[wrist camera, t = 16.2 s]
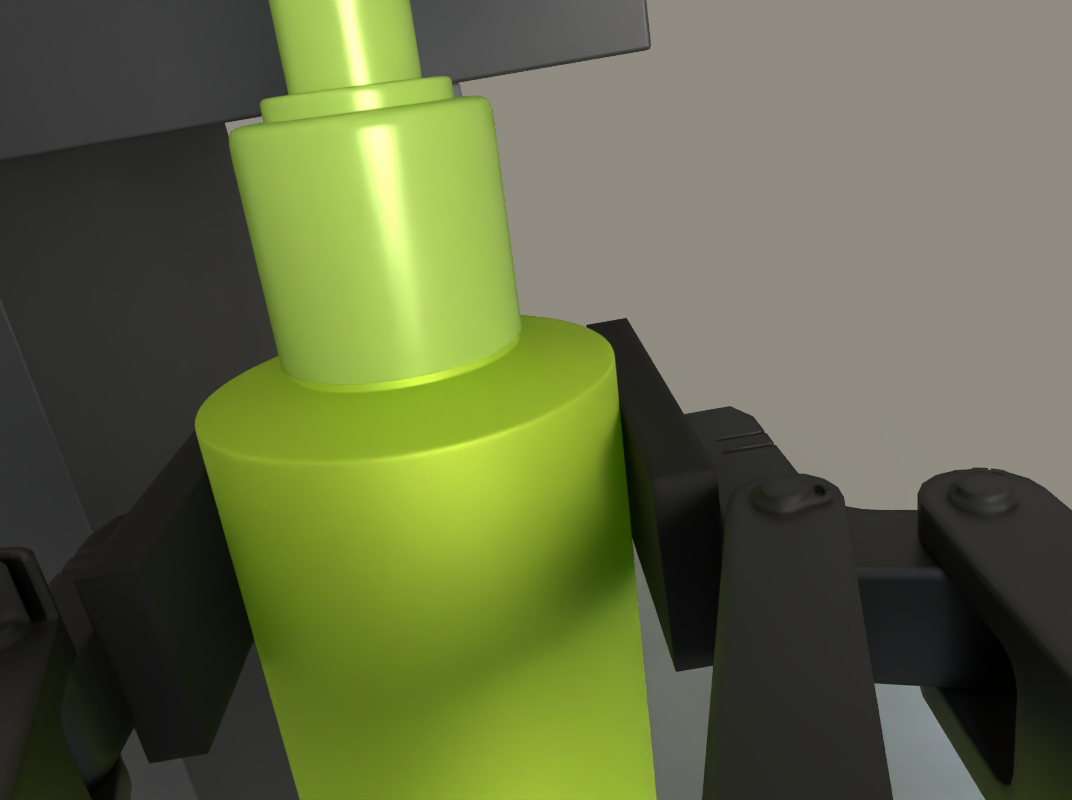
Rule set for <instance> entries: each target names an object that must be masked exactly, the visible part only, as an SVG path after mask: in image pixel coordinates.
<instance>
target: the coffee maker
mask: <svg viewBox="0 0 1072 800" xmlns="http://www.w3.org/2000/svg"><path fill="white" fill-rule="evenodd" d="M410 5H411V11H412V18H413V24H414V30H415V37H416V43H417V49H418V56H419V62H420V68H421V75H422V78H425V77H435V76H448V77H450V78H451V81H452V87H453V93H454V97H462V93H461V88H460V85H459V83H458V82H464V81H470V80H476V79H481V78H488V77H493V76H499V75H505V74H511V73H517V72H523V71H528V70H534V69H540V68H546V67H552V66H557V65H563V64H569V63H575V62H581V61H586V60H592V59H598V58H604V57H609V56H616V55H621V54H627V53H633V52H639V51H645V50H648V49H650V46H651V41H650V32H649V22H648V13H647V3H646V0H410ZM285 95H288V91H287V86H286V81H285V76H284V72H283V67H282V62H281V57H280V53H279V48H278V43H277V38H276V34H275V29H274V24H273V19H272V15H271V10H270V5H269V0H0V548H5V547H25V548H27V549H30V550H32V551H33V552H34V554H35V557H36V559H37V561H38V564H39V566H40V568H41V570H42V573H43V575H44V577H45V580H46V582H47V584H49V583H50V582H51V581H52V580H53V578H54V577H55V576H56V575H57V574H58V573H62V570H61V569H62V568H63V567H64V566H65V564H66V563H67V562H68V561H69V560H70V558H71V557H75V553H76V551H77V550H78V549H79V548H80V547H81V545H82V544H83V543H84V542H85V541H86V540H87V538H88V537H89V536H90V535H91V534H92V533H94V532H95V531H97V530H98V529H100V528H101V527H102V526H104V525H105V524H107V523H108V522H110V521H111V520H112V519H114V518H115V517H117V516H120V515H125V514H127V513H128V512H129V511H130V510H131V508H132V507H133V506H134V505H135V503H136V502H137V501H138V500H139V498H140V497H141V496H142V495H143V493H144V492H145V491H146V490H147V489H148V487H149V486H150V485H151V484H152V482H153V481H154V480H155V479H156V477H157V476H158V475H159V474H160V472H161V471H162V470H163V469H164V467H165V466H166V465H167V464H168V462H169V461H170V460H171V459H172V457H173V456H174V455H175V454H176V452H177V451H178V450H179V449H180V448H181V446H182V445H183V444H184V443H185V441H186V440H187V439H188V438H189V436H190V435H191V434H192V433H193V431H194V430H195V419H196V415H197V413H198V411H199V409H200V407H201V406H202V404H203V403H204V402H205V401H206V400H207V399H208V398H209V397H210V396H211V395H212V394H213V393H214V392H215V391H216V390H218V389H219V388H220V387H222V386H223V385H224V384H226V383H227V382H229V381H230V380H232V379H233V378H235V377H237V376H239V375H240V374H242V373H244V372H246V371H248V370H250V369H252V368H253V367H256V366H258V365H260V364H262V363H264V362H266V361H268V360H270V359H273V358H275V357H277V356H278V352H277V347H276V343H275V339H274V335H273V331H272V326H271V322H270V318H269V314H268V310H267V305H266V301H265V297H264V293H263V289H262V284H261V280H260V276H259V272H258V268H257V263H256V259H255V255H254V251H253V247H252V242H251V238H250V234H249V230H248V226H247V221H246V217H245V213H244V209H243V205H242V200H241V196H240V192H239V188H238V184H237V179H236V175H235V171H234V167H233V163H232V158H231V153H230V148H229V138H228V133H227V129H226V126H225V123H226V122H232V121H237V120H243V119H249V118H255V117H261V116H262V114H261V109H260V102H261V101H262V100H264V99H267V98H272V97H279V96H285ZM120 754H121V756H122V758H123V761H124V763H125V765H126V768H127V770H128V772H129V775H130V780H131V784H132V789H131V799H130V800H300V799H299V796H298V792H297V789H296V785H295V782H294V778H293V775H292V771H291V767H290V764H289V760H288V757H287V753H286V750H285V746H284V743H283V739H282V736H281V732H280V729H279V725H278V721H277V718H276V714H275V711H274V707H273V704H272V700H271V697H270V693H269V690H268V686H267V682H266V679H265V675H264V672H263V668H262V665H261V661H260V658H259V654H258V651H257V647H256V644H255V640H254V641H253V644H252V646H251V649H250V651H249V654H248V656H247V659H246V661H245V664H244V666H243V669H242V671H241V673H240V676H239V678H238V681H237V683H236V686H235V688H234V691H233V693H232V696H231V698H230V701H229V703H228V706H227V708H226V711H225V713H224V716H223V718H222V721H221V723H220V726H219V728H218V731H217V733H216V736H215V738H214V741H213V743H212V746H211V748H210V751H209V753H208V754H203V755H197V756H191V757H185V758H180V759H174V760H168V761H162V762H157V763H151V764H149V762H148V759H147V757H146V755H145V752H144V750H143V747H142V745H141V743H140V740H139V738H138V735H137V733H136V731H135V728H134V729H133V731H132V732H131V734H130V736H129V738H128V740H127V742H126V744H125V746H124V748H123V749H122V751H121V753H120Z"/></svg>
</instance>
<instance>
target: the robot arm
mask: <svg viewBox="0 0 1072 800" xmlns="http://www.w3.org/2000/svg"><path fill="white" fill-rule="evenodd" d="M587 328H589V329H591V330H593V331H595V332H597V333H598V334H600V335H601V336H603V337H604V338H605V339H606V340H607V341H608V342H609V343H610V345H611V346H612V349H613V351H614V355H615V364H616V374H617V385H618V395H619V408H620V417H621V427H622V438H623V448H624V459H625V469H626V480H627V490H628V501H629V511H630V522H631V533H632V538H633V541H634V544H635V548H636V551H637V554H638V557H639V560H640V563H641V566H642V569H643V572H644V575H645V578H646V581H647V584H648V587H649V591H650V594H651V597H652V600H653V603H654V606H655V609H656V612H657V615H658V618H659V621H660V624H661V627H662V630H663V633H664V637H665V640H666V643H667V646H668V649H669V652H670V655H671V658H672V661H673V664H674V667H675V670H676V672H678V671H684V670H690V669H696V668H701V667H707V666H713V676H712V688H711V700H710V712H709V724H708V736H707V748H706V760H705V772H704V784H703V796H702V800H893V796H892V790H891V784H890V778H889V771H888V765H887V759H886V753H885V747H884V741H883V735H882V728H881V722H880V716H879V710H878V704H877V698H876V692H875V685H874V683H880V684H897V685H913V686H920V689H921V692H922V695H923V697H924V699H925V701H926V702H927V704H928V706H929V707H930V709H931V711H932V712H933V714H934V716H935V717H936V719H937V720H938V722H939V724H940V725H941V727H942V729H943V730H944V732H945V734H946V735H947V737H948V739H949V740H950V742H951V744H952V745H953V747H954V749H955V750H956V752H957V753H958V755H959V757H960V758H961V760H962V762H963V763H964V765H965V767H966V768H967V770H968V772H969V773H970V775H971V777H972V778H973V780H974V782H975V783H976V785H977V787H978V788H979V790H980V791H981V793H982V795H983V796H984V798H985V800H1072V510H1071V509H1070V508H1068V507H1067V506H1066V505H1065V504H1063V503H1062V502H1061V501H1060V500H1058V498H1056V497H1055V496H1054V495H1053V494H1052V493H1050V492H1049V491H1048V490H1047V489H1046V488H1044V487H1043V486H1041V485H1039V484H1037V483H1036V482H1034V481H1032V480H1030V479H1029V478H1026V477H1022V476H1018V475H1015V474H1012V473H1009V472H1006V471H1004V470H999V469H991V470H988V468H972V469H967V470H955V471H951V472H947V473H942V474H938V475H935V476H934V477H932V478H931V479H929V480H927V481H926V482H924V483H922V486H921V488H920V490H919V492H918V510H870V509H859V508H852V507H847V506H845V501H844V497H843V495H842V493H841V492H840V490H839V488H838V487H837V486H835V485H834V484H832V483H830V482H828V481H827V480H825V479H822V478H819V477H815V476H811V475H807V474H798V472H797V471H796V470H795V469H794V467H793V466H792V465H791V464H790V462H789V461H788V460H787V459H786V457H785V456H784V455H783V454H782V453H781V451H780V450H779V448H778V447H777V446H776V445H774V443H773V441H772V440H771V438H770V437H769V436H768V435H767V434H766V433H764V430H763V429H762V427H761V426H760V425H759V423H758V422H757V421H756V420H755V418H754V417H753V416H751V415H749V414H746V413H744V412H742V411H740V410H737V409H735V408H733V407H730V406H729V407H723V408H717V409H711V410H706V411H700V412H694V413H688V414H684V413H683V412H682V410H681V409H680V407H679V405H678V403H677V402H676V400H675V398H674V397H673V395H672V394H671V392H670V390H669V388H668V387H667V385H666V383H665V382H664V380H663V378H662V377H661V375H660V373H659V372H658V370H657V368H656V367H655V365H654V363H653V362H652V360H651V358H650V356H649V355H648V353H647V352H646V350H645V348H644V347H643V345H642V343H641V341H640V340H639V338H638V336H637V335H636V333H635V332H634V330H633V328H632V326H631V325H630V323H629V321H628V320H627V318H623V319H618V320H612V321H607V322H601V323H595V324H589V325H587ZM61 570H62V573H58V574H57V575H56V576H55V577H54V578H53V580H52V581H51V582H50V583H49V584H47V582H46V580H45V577H44V575H43V573H42V570H41V568H40V566H39V564H38V561H37V559H36V557H35V554H34V552H33V551H32V550H30V549H27V548H25V547H5V548H0V800H130V799H131V789H132V784H131V780H130V775H129V772H128V770H127V768H126V765H125V763H124V761H123V758H122V756H121V754H120V753H121V751H122V749H123V748H124V746H125V744H126V742H127V740H128V738H129V736H130V734H131V732H132V731H133V729H134V728H135V731H136V733H137V735H138V738H139V740H140V743H141V745H142V747H143V750H144V752H145V755H146V757H147V759H148V762H149V764H151V763H157V762H162V761H168V760H174V759H180V758H185V757H191V756H197V755H203V754H208V753H209V751H210V748H211V746H212V743H213V741H214V738H215V736H216V733H217V731H218V728H219V726H220V723H221V721H222V718H223V716H224V713H225V711H226V708H227V706H228V703H229V701H230V698H231V696H232V693H233V691H234V688H235V686H236V683H237V681H238V678H239V676H240V673H241V671H242V669H243V666H244V664H245V661H246V659H247V656H248V654H249V651H250V649H251V646H252V644H253V641H254V636H253V633H252V629H251V626H250V622H249V619H248V615H247V612H246V608H245V605H244V601H243V598H242V594H241V590H240V587H239V583H238V580H237V576H236V573H235V569H234V566H233V562H232V559H231V555H230V552H229V548H228V544H227V541H226V537H225V534H224V530H223V527H222V523H221V520H220V516H219V513H218V509H217V505H216V502H215V498H214V495H213V491H212V488H211V484H210V481H209V477H208V474H207V470H206V467H205V463H204V459H203V456H202V452H201V449H200V445H199V442H198V438H197V435H196V431H195V430H194V431H193V433H192V434H191V435H190V436H189V438H188V439H187V440H186V441H185V443H184V444H183V445H182V446H181V448H180V449H179V450H178V451H177V452H176V454H175V455H174V456H173V457H172V459H171V460H170V461H169V462H168V464H167V465H166V466H165V467H164V469H163V470H162V471H161V472H160V474H159V475H158V476H157V477H156V479H155V480H154V481H153V482H152V484H151V485H150V486H149V487H148V489H147V490H146V491H145V492H144V493H143V495H142V496H141V497H140V498H139V500H138V501H137V502H136V503H135V505H134V506H133V507H132V508H131V510H130V511H129V512H128V513H127V514H125V515H120V516H117V517H115V518H114V519H112V520H111V521H110V522H108V523H107V524H105V525H104V526H102V527H101V528H100V529H98V530H97V531H95V532H94V533H92V534H91V535H90V536H89V537H88V538H87V540H86V541H85V542H84V543H83V544H82V545H81V547H80V548H79V549H78V550H77V551H76V553H75V557H71V558H70V560H69V561H68V562H67V563H66V564H65V566H64V567H63V568H62V569H61Z"/></svg>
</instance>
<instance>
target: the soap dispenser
mask: <svg viewBox="0 0 1072 800" xmlns="http://www.w3.org/2000/svg"><path fill="white" fill-rule="evenodd" d="M269 5H270V10H271V15H272V19H273V24H274V29H275V34H276V38H277V43H278V48H279V53H280V57H281V62H282V67H283V72H284V76H285V81H286V86H287V91H288V95H285V96H279V97H272V98H267V99H264V100H262V101H261V102H260V109H261V114H262V118H263V123H258V124H252V125H247V126H242V127H239V128H236V129H234V130H233V131H231V132H230V134H229V136H228V138H229V148H230V153H231V158H232V163H233V167H234V171H235V175H236V179H237V184H238V188H239V192H240V196H241V200H242V205H243V209H244V213H245V217H246V221H247V226H248V230H249V234H250V238H251V242H252V247H253V251H254V255H255V259H256V263H257V268H258V272H259V276H260V280H261V284H262V289H263V293H264V297H265V301H266V305H267V310H268V314H269V318H270V322H271V326H272V331H273V335H274V339H275V343H276V347H277V352H278V356H277V357H275V358H273V359H270V360H268V361H266V362H264V363H262V364H260V365H258V366H256V367H253V368H252V369H250V370H248V371H246V372H244V373H242V374H240V375H239V376H237V377H235V378H233V379H232V380H230V381H229V382H227V383H226V384H224V385H223V386H222V387H220V388H219V389H218V390H216V391H215V392H214V393H213V394H212V395H211V396H210V397H209V398H208V399H207V400H206V401H205V402H204V403H203V404H202V406H201V407H200V409H199V411H198V413H197V415H196V419H195V431H196V435H197V438H198V442H199V445H200V449H201V452H202V456H203V459H204V463H205V467H206V470H207V474H208V477H209V481H210V484H211V488H212V491H213V495H214V498H215V502H216V505H217V509H218V513H219V516H220V520H221V523H222V527H223V530H224V534H225V537H226V541H227V544H228V548H229V552H230V555H231V559H232V562H233V566H234V569H235V573H236V576H237V580H238V583H239V587H240V590H241V594H242V598H243V601H244V605H245V608H246V612H247V615H248V619H249V622H250V626H251V629H252V633H253V636H254V640H255V644H256V647H257V651H258V654H259V658H260V661H261V665H262V668H263V672H264V675H265V679H266V682H267V686H268V690H269V693H270V697H271V700H272V704H273V707H274V711H275V714H276V718H277V721H278V725H279V729H280V732H281V736H282V739H283V743H284V746H285V750H286V753H287V757H288V760H289V764H290V767H291V771H292V775H293V778H294V782H295V785H296V789H297V792H298V796H299V799H300V800H657V797H656V786H655V776H654V765H653V755H652V744H651V733H650V723H649V712H648V702H647V691H646V681H645V670H644V659H643V649H642V638H641V628H640V617H639V607H638V596H637V585H636V575H635V564H634V554H633V543H632V533H631V522H630V511H629V501H628V490H627V480H626V469H625V459H624V448H623V438H622V427H621V417H620V408H619V395H618V385H617V374H616V364H615V355H614V351H613V349H612V346H611V345H610V343H609V342H608V341H607V340H606V339H605V338H604V337H603V336H601V335H600V334H598V333H597V332H595V331H593V330H591V329H589V328H586V327H584V326H581V325H578V324H575V323H571V322H567V321H562V320H557V319H551V318H543V317H536V316H525V315H520V310H519V303H518V295H517V288H516V280H515V272H514V265H513V257H512V250H511V243H510V235H509V227H508V220H507V212H506V205H505V197H504V190H503V183H502V175H501V167H500V159H499V152H498V144H497V137H496V130H495V122H494V116H493V110H492V107H491V104H490V101H489V100H488V99H487V98H485V97H482V96H462V97H454V93H453V87H452V81H451V78H450V77H448V76H435V77H425V78H422V75H421V68H420V62H419V56H418V49H417V43H416V37H415V30H414V24H413V18H412V11H411V5H410V0H269Z"/></svg>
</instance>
